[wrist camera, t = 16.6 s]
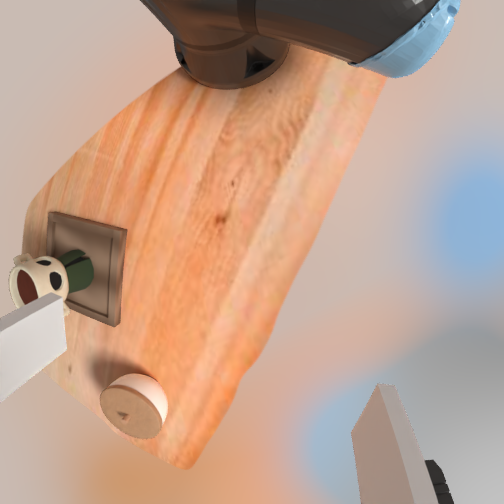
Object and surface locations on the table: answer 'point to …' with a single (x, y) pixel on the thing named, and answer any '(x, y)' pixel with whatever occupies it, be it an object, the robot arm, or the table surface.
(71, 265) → the character mug
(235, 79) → the robot arm
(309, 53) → the table surface
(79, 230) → the walnut tray
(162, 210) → the table surface
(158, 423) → the lidded jar
